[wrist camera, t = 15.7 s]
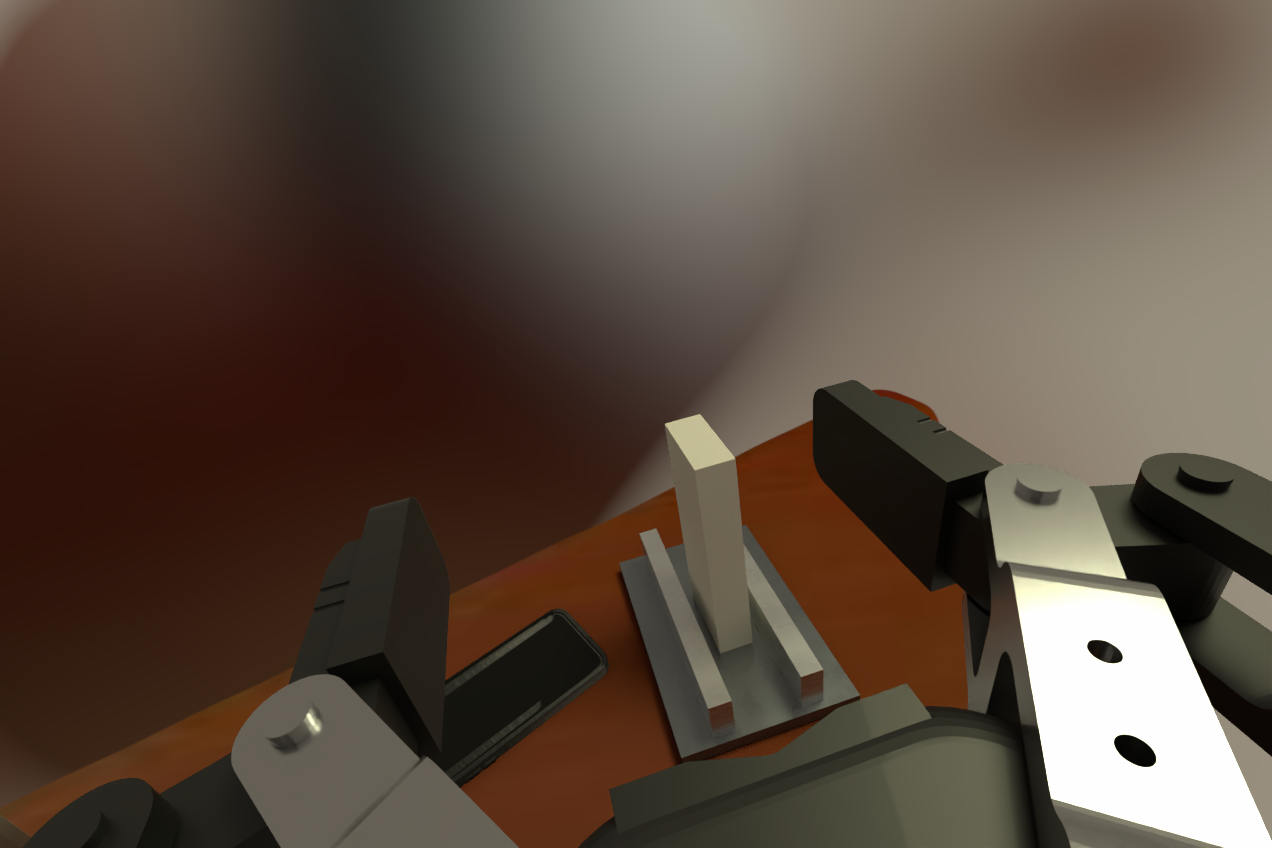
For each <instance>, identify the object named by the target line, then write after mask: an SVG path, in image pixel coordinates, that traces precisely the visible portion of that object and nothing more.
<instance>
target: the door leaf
mask: <svg viewBox="0 0 1272 848" xmlns="http://www.w3.org/2000/svg"><path fill="white" fill-rule="evenodd" d="M665 429H666V435H667V441H668V447H669V454H670V460H671V466H672V471H673V478H674V484H675V491H676V497H677V503H678V509H679V515H680V521H681V528H682V534H683V540H684V546H685V552H686V558H687V565H688V571H689V577H690V583H691V589H692V595H693V597H694V599H695V601H696V603H697V605H698V607H699V610H700V612H701V614H702V616H703V618H704V620H705V622H706V624H707V627H708V629H709V631H710V633H711V635H712V637H713V639H714V641H715V644H716V646H717V648H718V650H719V652H720V653H723V652H726V651H729V650H732V649H735V648H738V647H741V646H744V645H747V644H750V643H753V641H752V630H751V620H750V609H749V598H748V588H747V577H746V566H745V556H744V545H743V534H742V524H741V513H740V502H739V492H738V481H737V471H736V460H735V458H734V456H733V455H732V454H731V453H730V451H729V450H728V449H727V448H726V446H725V445H724V444H723V442H722V441H721V440H720V439H719V437H718V436H717V435H716V434H715V432H714V431H713V430H712V429H711V427H710V426H709V425H708V424H707V423H706V421H705V420H704V419H703V417H702V416H701V415H700V414H699V415H695V416H692V417H688V418H685V419H681V420H677V421H674V422H670V423H666V424H665Z"/></svg>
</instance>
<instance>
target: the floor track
mask: <svg viewBox="0 0 1272 848" xmlns="http://www.w3.org/2000/svg"><path fill="white" fill-rule="evenodd" d="M639 534H640V539H641V543H642V548H643V553H644V556H641V557H638V558H634V559H631V560H628V561H624V562H621V563H619V565H620V569H621V572H622V576H623V579H624V582H625V585H626V588H627V591H628V594H629V598H630V601H631V604H632V607H633V610H634V613H635V617H636V620H637V623H638V626H639V629H640V632H641V635H642V639H643V642H644V645H645V648H646V651H647V654H648V657H649V661H650V664H651V667H652V670H653V673H654V676H655V679H656V683H657V686H658V689H659V692H660V695H661V698H662V701H663V705H664V708H665V711H666V714H667V717H668V720H669V724H670V727H671V730H672V733H673V736H674V739H675V742H676V746H677V749H678V752H679V755H680V758H681V761H682V763H685V762H692V761H702V760H705V759H708V758H711V757H714V756H716V755H719V754H722V753H725V752H728V751H731V750H733V749H736V748H739V747H742V746H745V745H748V744H750V743H753V742H756V741H759V740H762V739H764V738H767V737H770V736H773V735H776V734H779V733H781V732H784V731H787V730H790V729H793V728H796V727H798V726H801V725H804V724H807V723H810V722H812V721H815V720H818V719H821V718H824V717H826V716H827V715H829V714H830V713H831V712H833V711H834V710H836V709H837V708H839V707H842V706H845V705H847V704H850V703H853V702H856V701H859V700H860V695H859V693H858V692H857V690H856V689H855V687H854V686H853V684H852V683H851V681H850V680H849V678H848V677H847V675H846V674H845V672H844V671H843V669H842V668H841V666H840V665H839V663H838V662H837V660H836V659H835V657H834V656H833V654H832V653H831V651H830V650H829V648H828V647H827V645H826V644H825V642H824V641H823V639H822V638H821V636H820V635H819V633H818V632H817V630H816V629H815V627H814V626H813V625H812V623H811V622H810V620H809V619H808V617H807V616H806V614H805V613H804V611H803V610H802V608H801V607H800V605H799V604H798V602H797V601H796V599H795V598H794V596H793V595H792V593H791V592H790V590H789V589H788V587H787V586H786V584H785V583H784V581H783V580H782V578H781V577H780V575H779V574H778V572H777V571H776V569H775V568H774V566H773V565H772V563H771V562H770V560H769V559H768V557H767V556H766V554H765V553H764V551H763V550H762V548H761V547H760V546H759V544H758V543H757V541H756V540H755V538H754V537H753V535H752V534H751V532H750V531H749V529H748V528H747V526H746V525H744V526H742V534H743V545H744V556H745V566H746V577H747V588H748V598H749V609H750V620H751V630H752V641H753V643H750V644H747V645H744V646H741V647H738V648H735V649H732V650H729V651H726V652H723V653H720V652H719V650H718V648H717V646H716V644H715V641H714V639H713V637H712V635H711V633H710V631H709V629H708V627H707V624H706V622H705V620H704V618H703V616H702V614H701V612H700V610H699V607H698V605H697V603H696V601H695V599H694V597H693V595H692V589H691V583H690V577H689V571H688V565H687V558H686V552H685V546H684V544H681V545H678V546H674V547H671V548H668V549H665V548H664V545H663V543H662V541H661V539H660V536H659V534H658V532H657V529H653V530H650V531H646V532H643V533H639Z"/></svg>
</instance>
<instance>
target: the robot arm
mask: <svg viewBox="0 0 1272 848" xmlns="http://www.w3.org/2000/svg"><path fill="white" fill-rule="evenodd" d="M813 458H814V463H815V466H816V469H817V472H818V474H819V476H820V477H821V479H822V480H823V482H824V483H825V484H826V485H827V486H828V487H829V488H830V489H831V490H832V491H833V492H834V493H835V494H836V495H837V496H838V497H839V498H840V499H841V500H842V501H843V502H844V503H845V504H846V505H847V506H848V507H849V509H850V510H851V511H852V512H853V513H854V514H855V515H856V516H857V517H858V518H859V519H860V520H861V521H862V522H863V523H864V524H865V525H866V526H867V527H868V528H869V529H870V530H871V531H872V532H873V533H874V534H875V535H876V536H877V537H878V538H879V539H880V540H881V541H882V542H883V543H884V544H885V545H886V546H887V547H888V549H889V550H890V551H891V552H892V553H893V554H894V555H895V556H896V557H897V558H898V559H899V560H900V561H901V562H902V563H903V564H904V565H905V566H906V567H907V568H908V569H909V570H910V571H911V572H912V573H913V574H914V575H915V576H916V577H917V578H918V579H919V580H920V581H921V582H922V583H923V584H924V585H925V586H926V587H927V589H928V590H929V591H930V592H932V591H935V590H938V589H941V588H944V587H947V586H950V585H953V584H956V583H957V584H958V585H959V586H960V587H961V588H962V589H963V590H964V593H963V599H962V615H963V628H964V642H965V655H966V668H967V681H968V710H966V709H960V708H954V707H939V706H923V704H922V703H921V702H920V701H919V699H918V698H917V697H916V695H915V694H914V693H913V691H912V690H911V689H910V688H909V686H908V685H907V684H904V685H901V686H898V687H895V688H892V689H890V690H887V691H884V692H881V693H878V694H875V695H873V696H870V697H867V698H864V699H861V700H859V701H856V702H853V703H850V704H847V705H845V706H842V707H839V708H837V709H836V710H834V711H833V712H831V713H830V714H829V715H827V716H826V717H825V718H823V719H822V720H821V721H819V722H818V723H817V724H815V725H814V726H813V727H811V728H810V729H808V730H807V731H806V732H804V733H803V734H802V735H800V736H799V737H798V738H796V739H795V740H794V741H792V742H791V743H789V744H788V745H787V746H785V747H784V748H783V749H781V750H780V751H778V752H777V753H774V754H772V755H767V756H758V757H745V758H731V759H718V760H705V761H692V762H685V763H682V764H679V765H676V766H674V767H671V768H668V769H665V770H662V771H660V772H657V773H654V774H651V775H648V776H645V777H643V778H640V779H637V780H634V781H631V782H629V783H626V784H623V785H620V786H617V787H615V788H612V789H609V792H610V797H611V802H612V807H613V812H614V817H612V818H611V819H610V820H608V821H607V822H605V823H604V824H603V825H601V826H600V827H599V828H598V829H597V830H596V831H594V832H593V833H592V834H591V835H590V836H589V837H588V838H587V839H586V840H585V841H584V842H583V843H582V844H581V845H580V846H579V847H578V848H1272V842H1271V839H1270V837H1269V835H1268V833H1267V831H1266V828H1265V826H1264V824H1263V821H1262V819H1261V817H1260V814H1259V812H1258V810H1257V808H1256V805H1255V803H1254V801H1253V799H1252V796H1251V794H1250V792H1249V789H1248V787H1247V785H1246V783H1245V780H1244V778H1243V776H1242V774H1241V772H1240V769H1239V767H1238V765H1237V762H1236V760H1235V758H1234V756H1233V754H1232V751H1231V749H1230V746H1229V744H1228V742H1227V740H1226V738H1225V735H1224V733H1223V731H1222V729H1221V726H1220V724H1219V721H1218V719H1217V717H1216V715H1215V712H1214V710H1213V708H1212V707H1214V708H1215V709H1216V710H1217V711H1218V712H1219V713H1221V714H1222V715H1223V716H1224V717H1225V718H1227V719H1228V720H1229V721H1230V722H1231V723H1232V724H1234V725H1235V726H1236V727H1237V728H1239V729H1240V730H1241V731H1242V732H1243V733H1244V734H1245V735H1247V736H1248V737H1249V738H1250V739H1251V740H1253V741H1254V742H1255V743H1256V744H1257V745H1258V746H1260V747H1261V748H1262V749H1263V750H1264V751H1266V752H1267V753H1268V754H1269V755H1270V756H1272V632H1271V631H1270V630H1269V629H1267V628H1266V627H1264V626H1263V625H1261V624H1260V623H1258V622H1257V621H1255V620H1254V619H1252V618H1251V617H1249V616H1248V615H1247V614H1245V613H1244V612H1242V611H1241V610H1239V609H1238V608H1236V607H1235V606H1233V605H1232V604H1230V603H1229V602H1227V601H1226V600H1224V599H1223V598H1221V597H1220V596H1221V594H1222V592H1223V590H1224V588H1225V586H1226V584H1227V582H1228V581H1229V578H1230V577H1231V575H1232V572H1233V571H1235V572H1236V573H1238V574H1240V575H1241V576H1242V577H1244V578H1246V579H1247V580H1249V581H1250V582H1252V583H1254V584H1255V585H1257V586H1258V587H1260V588H1261V589H1263V590H1265V591H1266V592H1268V593H1269V594H1271V595H1272V482H1271V481H1269V480H1267V479H1265V478H1263V477H1261V476H1259V475H1257V474H1255V473H1253V472H1251V471H1249V470H1246V469H1244V468H1242V467H1240V466H1237V465H1235V464H1232V463H1229V462H1227V461H1224V460H1220V459H1217V458H1212V457H1208V456H1203V455H1197V454H1188V453H1166V454H1160V455H1155V456H1153V457H1150V458H1148V459H1147V460H1145V461H1144V462H1143V464H1142V467H1141V469H1140V472H1139V475H1138V478H1137V480H1136V483H1135V484H1128V485H1110V486H1092V487H1089V486H1088V485H1087V484H1085V483H1084V482H1083V481H1082V480H1080V479H1078V478H1077V477H1075V476H1074V475H1071V474H1069V473H1067V472H1065V471H1062V470H1059V469H1057V468H1053V467H1050V466H1045V465H1040V464H1032V463H1013V464H1006V465H1003V464H1002V463H1000V462H998V461H997V460H995V459H994V458H992V457H991V456H989V455H988V454H986V453H985V452H983V451H981V450H980V449H978V448H977V447H975V446H974V445H972V444H971V443H969V442H967V441H966V440H964V439H963V438H961V437H959V436H958V435H957V434H955V433H953V432H952V431H950V430H949V431H946V428H945V427H944V426H943V425H941V424H939V423H938V422H936V421H935V420H930V417H929V416H927V415H926V414H924V413H922V412H921V411H919V410H918V409H916V408H915V407H913V406H912V405H910V404H907V403H904V402H901V401H897V400H894V399H891V398H888V397H885V396H883V397H880V396H879V395H877V394H876V393H874V392H873V391H871V390H870V389H868V388H867V387H865V386H864V385H862V384H861V383H859V382H858V381H855V380H850V381H847V382H843V383H839V384H836V385H832V386H828V387H824V388H821V389H818V390H817V391H816V392H815V394H814V398H813ZM320 590H321V593H320V594H318V597H317V601H316V604H315V606H314V610H315V613H312V616H311V619H310V622H309V625H308V628H307V631H306V634H305V637H304V640H303V643H302V646H301V649H300V652H299V655H298V658H297V661H296V664H295V667H294V670H293V673H292V676H291V679H290V682H289V685H288V686H286V687H284V688H282V689H281V690H279V691H278V692H276V693H275V694H273V695H272V696H271V697H269V698H268V699H267V700H266V701H265V702H264V703H262V704H261V705H260V706H259V707H258V708H257V709H256V710H255V711H254V712H253V714H252V715H251V716H250V717H249V718H248V720H247V721H246V722H245V724H244V725H243V727H242V728H241V730H240V732H239V733H238V735H237V737H236V739H235V742H234V745H233V748H232V752H231V753H230V754H228V755H226V756H225V757H223V758H222V759H220V760H218V761H216V762H215V763H213V764H211V765H209V766H208V767H206V768H204V769H202V770H201V771H199V772H197V773H195V774H194V775H192V776H190V777H188V778H187V779H185V780H183V781H181V782H180V783H178V784H176V785H174V786H173V787H171V788H169V789H167V790H166V791H164V792H162V793H160V794H159V793H158V792H156V791H155V790H154V789H153V788H152V787H151V786H150V785H149V784H148V783H146V782H145V781H144V780H141V779H138V778H126V779H119V780H116V781H113V782H109V783H107V784H104V785H102V786H100V787H97V788H95V789H94V790H92V791H90V792H88V793H86V794H84V795H83V796H81V797H80V798H78V799H76V800H75V801H73V802H72V803H70V804H69V805H68V806H66V807H65V808H64V809H62V810H61V811H60V812H58V813H57V814H56V815H55V816H54V817H53V818H51V819H50V820H49V821H48V822H47V823H46V824H45V825H44V826H42V827H41V828H40V829H39V830H38V831H37V832H36V833H35V834H34V835H33V836H32V838H31V837H30V836H29V835H27V834H26V833H24V832H23V831H22V830H20V829H19V828H17V827H16V826H15V825H13V824H12V823H11V822H9V821H8V820H6V819H5V818H4V817H2V816H1V815H0V848H519V847H518V846H517V845H516V844H515V843H514V842H513V841H512V840H511V839H510V838H509V837H508V836H507V835H506V834H505V833H504V832H503V831H502V830H501V829H500V828H499V827H498V826H497V825H496V824H495V823H494V822H493V821H492V820H491V819H490V818H489V817H488V816H487V815H486V814H485V813H484V812H483V811H482V810H481V809H480V808H479V807H478V806H477V805H476V804H475V803H474V802H473V801H472V800H471V799H470V798H469V797H468V796H467V795H466V794H465V793H464V792H463V791H462V790H461V789H460V788H459V787H458V786H457V785H456V784H455V783H454V782H453V781H452V780H451V779H450V778H449V777H448V776H447V775H446V774H445V773H444V772H443V771H442V770H441V769H440V768H439V767H438V766H437V765H436V764H435V763H434V762H433V761H432V760H431V759H429V758H428V757H430V756H433V755H436V754H439V753H441V748H442V729H443V710H444V691H445V672H446V653H447V634H448V615H449V596H450V586H449V578H448V573H447V569H446V565H445V562H444V559H443V557H442V554H441V552H440V550H439V547H438V545H437V543H436V541H435V538H434V536H433V534H432V532H431V529H430V527H429V525H428V522H427V520H426V518H425V516H424V514H423V512H422V509H421V507H420V505H419V503H418V501H417V500H416V499H415V498H414V497H411V498H407V499H403V500H400V501H396V502H392V503H388V504H385V505H381V506H377V507H373V508H371V509H370V510H369V513H368V516H367V520H366V524H365V527H364V531H363V535H362V539H359V540H356V541H352V542H348V543H346V544H345V545H344V547H343V548H342V549H341V550H340V552H339V553H338V555H336V557H335V558H334V559H333V560H332V562H331V563H330V564H329V565H328V567H327V570H326V573H325V576H324V579H323V582H322V585H321V588H320Z"/></svg>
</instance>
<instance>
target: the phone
mask: <svg viewBox="0 0 1272 848" xmlns="http://www.w3.org/2000/svg"><path fill="white" fill-rule="evenodd" d="M608 668H609V663H608V659H607V656H606V654H605V652H604V651H603V650H602V649H601V648H600V647H599V646H598V644H597V643H596V642H595V641H594V640H593V639H592V638H591V637H590V636H589V635H588V634H587V633H586V632H585V631H584V629H583V628H582V627H581V626H580V625H579V624H578V623H577V622H576V621H575V620H574V619H573V618H572V617H571V615H570V614H569V613H568V612H567V611H565V610H563V609H554V610H551V611H549V612H547V613H546V614H544V615H543V616H541V617H540V618H538V619H537V620H535V621H534V622H532V623H531V624H529V625H528V626H526V627H525V628H523V629H522V630H520V631H519V632H517V633H516V634H514V635H513V636H512V637H510V638H509V639H507V640H506V641H504V642H503V643H501V644H500V645H498V646H497V647H495V648H494V649H492V650H491V651H489V652H488V653H486V654H485V655H483V656H482V657H480V658H479V659H477V660H476V661H474V662H473V663H471V664H470V665H468V666H467V667H465V668H464V669H462V670H461V671H459V672H458V673H456V674H455V675H453V676H452V677H450V678H449V679H447V680H446V681H445V691H444V710H443V729H442V748H441V753H439V754H436V755H433V756H430V757H428V758H429V759H431V760H432V761H433V762H434V763H435V764H436V765H437V766H438V767H439V768H440V769H441V770H442V771H443V772H444V773H445V774H446V775H447V776H448V777H449V778H450V779H451V780H452V781H453V782H454V783H455V784H456V785H457V786H458V787H459V788H460V787H461V786H463V785H464V784H465V783H467V782H468V781H469V780H470V779H472V778H473V777H474V776H476V775H477V774H478V773H479V772H481V771H482V770H483V769H485V768H486V767H487V766H489V765H490V764H491V763H492V762H494V761H495V760H496V759H498V758H499V757H500V756H501V755H503V754H504V753H505V752H507V751H508V750H509V749H510V748H512V747H513V746H514V745H516V744H517V743H518V742H520V741H521V740H522V739H523V738H525V737H526V736H527V735H529V734H530V733H531V732H532V731H534V730H535V729H536V728H538V727H539V726H540V725H542V724H543V723H544V722H545V721H547V720H548V719H549V718H551V717H552V716H553V715H554V714H556V713H557V712H558V711H560V710H561V709H562V708H564V707H565V706H566V705H567V704H569V703H570V702H571V701H573V700H574V699H575V698H576V697H578V696H579V695H580V694H582V693H583V692H584V691H586V690H587V689H588V688H589V687H591V686H592V685H593V684H595V683H596V682H597V681H598V680H600V679H601V678H602V677H603V676H604V675H605V674H606V673H607V671H608Z"/></svg>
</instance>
